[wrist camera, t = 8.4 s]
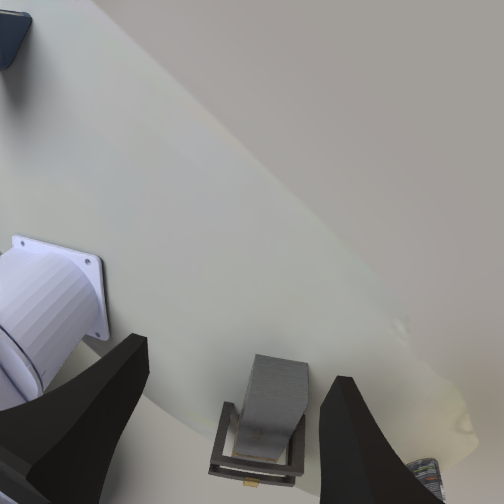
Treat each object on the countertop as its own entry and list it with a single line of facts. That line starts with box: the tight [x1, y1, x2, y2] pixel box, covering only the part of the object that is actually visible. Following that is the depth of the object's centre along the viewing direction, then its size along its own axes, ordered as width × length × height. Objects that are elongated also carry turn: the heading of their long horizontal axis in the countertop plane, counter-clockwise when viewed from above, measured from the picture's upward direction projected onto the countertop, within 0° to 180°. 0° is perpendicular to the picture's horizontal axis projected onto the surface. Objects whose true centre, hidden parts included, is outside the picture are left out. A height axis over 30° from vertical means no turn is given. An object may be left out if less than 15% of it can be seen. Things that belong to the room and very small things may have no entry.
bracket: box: [210, 402, 305, 477], centre depth 23 cm, size 7×1×6 cm, turn 81°
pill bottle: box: [406, 459, 446, 503], centre depth 25 cm, size 6×6×11 cm
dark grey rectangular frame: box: [208, 432, 295, 487], centre depth 24 cm, size 7×1×7 cm, turn 81°
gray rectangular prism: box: [231, 354, 308, 464], centre depth 24 cm, size 4×11×4 cm, turn 171°
